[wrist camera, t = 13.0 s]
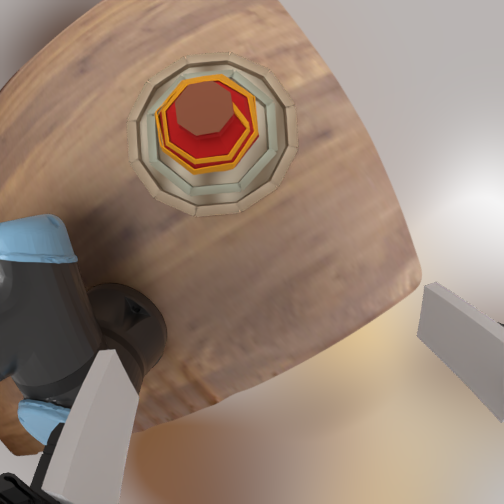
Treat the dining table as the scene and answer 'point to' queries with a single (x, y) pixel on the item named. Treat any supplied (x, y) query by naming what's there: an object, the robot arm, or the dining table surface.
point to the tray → (215, 183)
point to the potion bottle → (207, 124)
